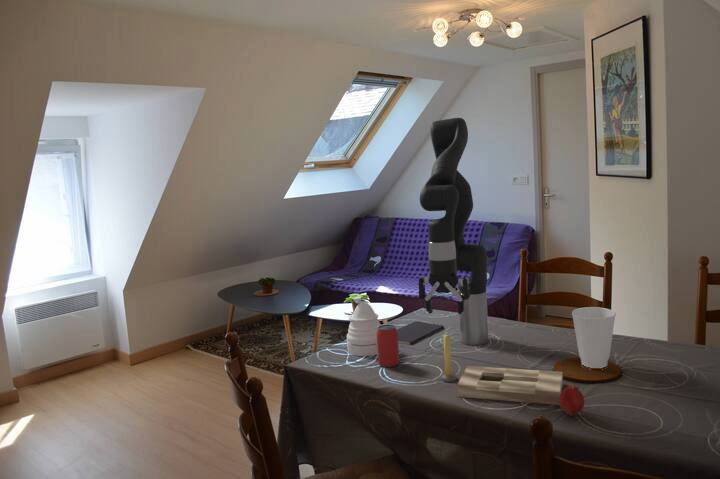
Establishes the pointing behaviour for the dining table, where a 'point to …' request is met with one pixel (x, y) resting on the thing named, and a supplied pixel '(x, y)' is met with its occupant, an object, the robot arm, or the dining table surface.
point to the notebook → (416, 332)
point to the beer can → (387, 346)
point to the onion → (571, 400)
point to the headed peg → (447, 361)
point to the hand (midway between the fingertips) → (445, 313)
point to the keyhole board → (511, 385)
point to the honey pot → (363, 330)
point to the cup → (594, 335)
